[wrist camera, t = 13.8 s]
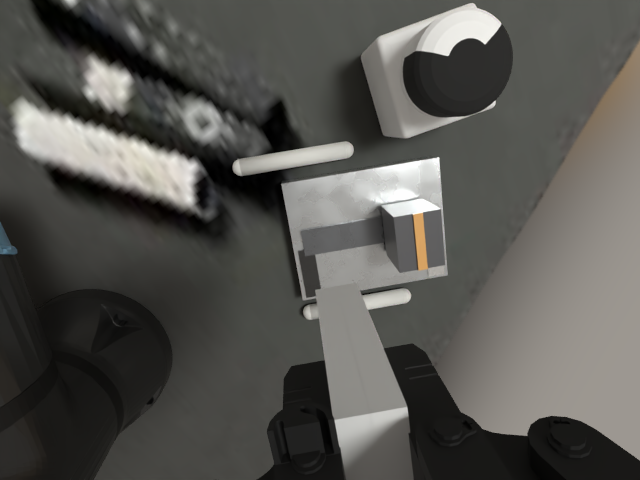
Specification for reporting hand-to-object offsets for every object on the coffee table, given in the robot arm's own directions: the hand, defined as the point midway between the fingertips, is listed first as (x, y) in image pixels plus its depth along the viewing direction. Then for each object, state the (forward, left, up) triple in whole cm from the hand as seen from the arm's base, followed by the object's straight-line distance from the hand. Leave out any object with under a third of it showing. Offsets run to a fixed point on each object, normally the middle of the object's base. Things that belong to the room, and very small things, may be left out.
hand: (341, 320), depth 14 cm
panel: (+5, -4, -26) cm, 27 cm away
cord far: (+3, -12, -26) cm, 29 cm away
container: (+11, +9, -27) cm, 30 cm away
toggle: (+8, -4, -24) cm, 26 cm away
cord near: (-1, +4, -26) cm, 27 cm away
